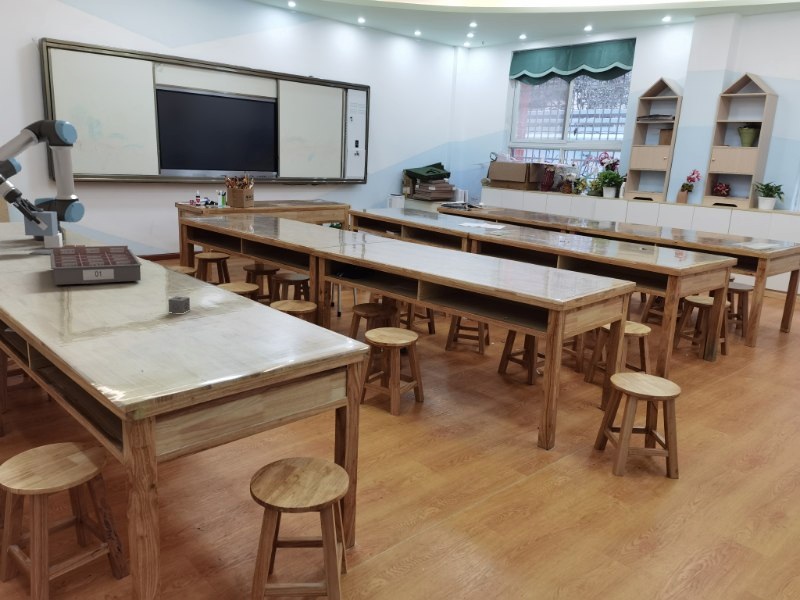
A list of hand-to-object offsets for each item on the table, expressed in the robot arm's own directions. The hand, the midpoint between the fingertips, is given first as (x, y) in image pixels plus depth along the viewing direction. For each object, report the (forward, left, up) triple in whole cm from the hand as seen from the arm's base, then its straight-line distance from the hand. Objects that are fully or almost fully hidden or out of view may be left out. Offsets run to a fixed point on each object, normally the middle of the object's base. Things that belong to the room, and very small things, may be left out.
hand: (49, 227), depth 296 cm
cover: (0, -3, -4) cm, 5 cm away
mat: (-1, -3, -13) cm, 13 cm away
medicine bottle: (-18, -4, -13) cm, 22 cm away
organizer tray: (+55, +34, -13) cm, 66 cm away
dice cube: (+115, +75, -13) cm, 137 cm away
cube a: (-1, +8, -13) cm, 15 cm away
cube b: (-1, +13, -13) cm, 19 cm away
